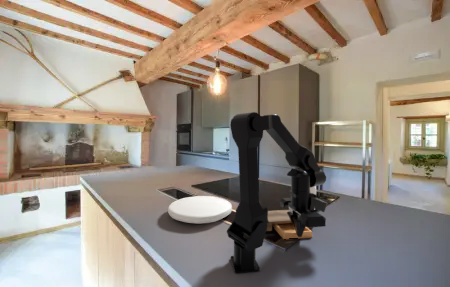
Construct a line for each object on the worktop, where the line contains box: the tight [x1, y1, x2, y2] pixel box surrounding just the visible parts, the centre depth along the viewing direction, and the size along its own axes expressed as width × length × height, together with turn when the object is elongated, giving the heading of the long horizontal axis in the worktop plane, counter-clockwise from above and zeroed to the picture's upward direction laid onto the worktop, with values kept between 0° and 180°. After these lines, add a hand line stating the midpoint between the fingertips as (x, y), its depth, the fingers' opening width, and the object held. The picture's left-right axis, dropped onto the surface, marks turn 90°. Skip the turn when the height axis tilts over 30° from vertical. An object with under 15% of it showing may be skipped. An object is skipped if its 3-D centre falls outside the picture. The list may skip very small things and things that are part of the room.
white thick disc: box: [167, 195, 233, 225], centre depth 88 cm, size 28×6×27 cm
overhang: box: [266, 209, 314, 232], centre depth 79 cm, size 10×20×3 cm, turn 99°
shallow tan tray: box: [272, 223, 313, 240], centre depth 75 cm, size 14×10×2 cm
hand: (299, 236), depth 67 cm, fingers closed
